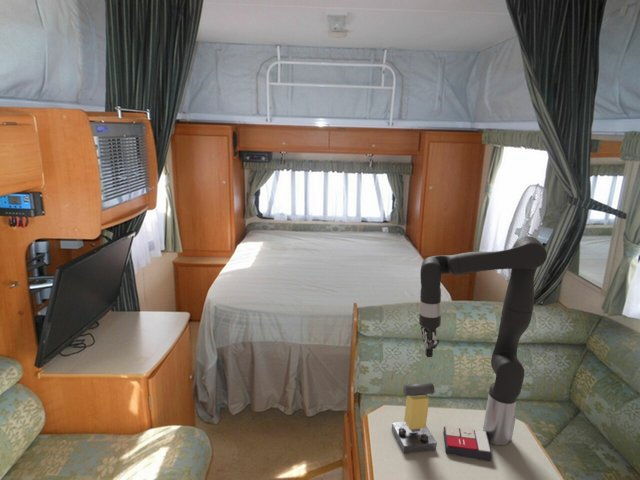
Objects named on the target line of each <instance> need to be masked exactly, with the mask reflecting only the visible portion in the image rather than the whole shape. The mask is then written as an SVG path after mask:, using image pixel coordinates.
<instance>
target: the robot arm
mask: <svg viewBox="0 0 640 480" xmlns="http://www.w3.org/2000/svg"><path fill="white" fill-rule="evenodd" d="M547 257H548V253H547V250H546V248H545V246H544V245H543V244H542V243H541V242H540V241H539V240H538V238H535V237H533V236H532V235H531V236H528V235H527V236H525V235H524V236H522V237H521V238H519V239H518V240H516V241H515V243H514V244H513V246H512V247H511V248H508V249H502V250H496V251H468V252H461V253H457V254H456V253H455V254H452V255H451V254H450V255H449V254H448V255H432V256H428V257H426V258H425V259H424V260H422V263H421V265H420V266H421V267H420V302H419V311H418V312H419V315H418V316H419V318H418V320H419V321H418V323H419V325H420V330H421V336H422V342H423V343H424V346H425V352H424V353H425V357H426V358H433V354H434V352H433V351H434V349H436V348H438V345H439V343H440V340H439V339H438V338H437V328H440V327H441V323H442V322H441V321H442V304H441V303H442V302H441V301H442V298H441V297H442V289H441V284H442V283H441V280H442V275H444V274H451V275H453V276H460V275H465V274H473V273H478V272H487V271H496V270H510V271H511V272H510V276H509V280H508V284H507V287H506V290H505V291H506V292H505V296H504V299H503V304H502V308H501V316H500V317H501V318H500V323H499V327H498V333H497V335H498V336H497V339H496V342H495V345H494V349H493V352H492V355H491V358H490V366H491V368H492V370H493V372H494V373H495V380H494V383H493V382H492V383H491V384H490V386H489V390H488V395H487V402H486V407H485V408H486V409H485V414H484V419H483V425H482V431H485V432H487V436H488V440H489V444H493V445H495V446H506V445H508V444H509V442H512V441H513V434H514V429H515V425H516V417H515V411H516V406H517V400H518V397H519V396H520V394H521V392H522V388H523V384H524V378H525V368H524V366H523V364H522V363H521V361H520V360H519V359H518V356H517V355H518V346H519V341H520V338H521V337H522V336H523V334H525V332H526V331H527V330H528V328H529V326H530V324H531V320H532V316H533V312H534V305H535V304H534V303H535V286H534V285H535V283H534V281H535V275H536V271H537V268H540V267H541V266H543V265H544V264H545V263H546V261H547Z"/></svg>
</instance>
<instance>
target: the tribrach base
mask: <svg viewBox="0 0 640 480" xmlns="http://www.w3.org/2000/svg"><path fill="white" fill-rule="evenodd" d="M391 431H392V433H393V436H394V437H395V439H396V441H397V443H398V446H399V447H400V449H401V451H402V453H403V454H410V453H419V452H420V453H421V452H428V451H435V450H437V445H438V444H437V443H438V442H437V441H436V439H435V438H434V435H433V434H432V432H431V431H430V429H429V428H428V426H427V425H426V428H421V429H420V431H418V432H412V431H411V430H410V429H409V428H408V426H407V424H406V422H405V421H397V422H396V421H395V422H392V424H391Z"/></svg>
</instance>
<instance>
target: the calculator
mask: <svg viewBox="0 0 640 480" xmlns="http://www.w3.org/2000/svg"><path fill="white" fill-rule="evenodd" d="M442 433H443V442H444V450H445V451H444V452H445V454H447V455H450V456H451V455H452V456H457V457H464V458H471V459H477V460H480V461H484V462H491V461H492V455H493V454H492V453H493V452H492V448H491V443H490V442H489V440H488V436H487V432H485V431H483V430H476V429H474V428H473V429H472V428H466V427H465V428H464V427H456V426H455V427H454V426H448V425H447V426H443V432H442Z"/></svg>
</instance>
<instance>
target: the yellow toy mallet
mask: <svg viewBox="0 0 640 480" xmlns="http://www.w3.org/2000/svg"><path fill="white" fill-rule="evenodd" d="M402 389H403V394H404V396H405V397H406V400H405V401H406V402H405V409H404V410H405V411H404V421H405V422H406V424H407V426H408V428H409V429H410V430H411V431H412V432H418V431H420V429H421V428H426V426H427V421H428V420H427V419H428V414H429V413H428V412H429V403H430V397H429V396H428V395H432V394H433V395H434V393H435V385H434V383H433V382H426V383H413V384H403V387H402ZM404 421H403V422H404Z"/></svg>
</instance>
